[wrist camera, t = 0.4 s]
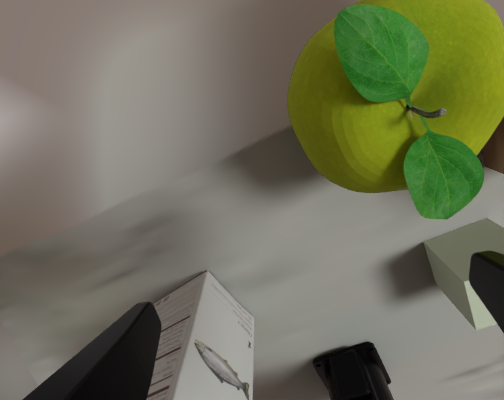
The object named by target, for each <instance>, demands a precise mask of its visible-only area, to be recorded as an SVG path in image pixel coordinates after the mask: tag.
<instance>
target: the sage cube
mask: <svg viewBox="0 0 504 400" xmlns="http://www.w3.org/2000/svg"><path fill="white" fill-rule="evenodd" d="M423 243H424V246H425V249H426V252H427V256H428V259H429V262H430V265H431V269H432V272H433V275H434V278H435V282H436V284H437V286H438V287H439V288H440V289H441V290H442V291H443V293H444V294H445V295H446V296H447V297H448V298H449V299H450V301H451V302H452V303H453V304H454V305H455V306H456V308H457V309H458V310H459V311H460V312H461V313H462V314H463V316H464V317H465V318H466V319H467V320H468V321H469V323H470V324H471V325H472V326H473V327H474V328H475V329H476V330H479V329H482V328H486V327H489V326H492V325H496V324H497V323H496V321H495V320H494V318H493V317H492V315H491V314H490V313H489V311H488V310H487V308H486V307H485V305H484V304H483V303H482V301H481V300H480V298H479V297H478V295H477V294H476V293H475V291H474V290H473V288H472V287H471V285H470V282H469V269H470V260H471V256H472V254H473V253H476V252H482V251H494V252H498V253H501V254H504V228H503V227H501V226H499V225H498V224H496V223H494V222H493V221H491V220H489V219H488V218H485V219H483V220H480V221H477V222H475V223H472V224H469V225H467V226H464V227H461V228H459V229H456V230H453V231H451V232H448V233H445V234H442V235H440V236H437V237H434V238H432V239H429V240H426V241H424V242H423Z"/></svg>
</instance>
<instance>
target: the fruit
mask: <svg viewBox="0 0 504 400" xmlns="http://www.w3.org/2000/svg"><path fill="white" fill-rule="evenodd" d="M288 113H289V118H290V122H291V124H292V127H293V130H294V132H295V134H296V136H297V138H298V140H299V142H300V144H301V146H302V148H303V150H304V151H305V153H306V155H307V156H308V158H309V160H310V161H311V163H312V164H313V166H314V167H315V168H316V169H317V170H318V171H319V172H320V173H321V174H322V175H323V176H324V177H326V178H327V179H328V180H330V181H331V182H333V183H335V184H337V185H339V186H341V187H343V188H346V189H348V190H352V191H356V192H364V193H380V192H389V191H397V190H406V189H409V191H410V194H411V197H412V199H413V202H414V204H415V206H416V208H417V210H418V212H419V213H420V215H421V216H423V217H425V218H430V219H448V218H450V217H451V216H453V215H454V214H456V213H457V212H458V211H460V210H461V209H462V208H464V207H465V206H466V205H467V204H468V203H469V202H470V201H471V200H472V199H473V198H474V197H475V196H476V195H477V194H478V192H479V191H480V189H481V187H482V184H483V180H484V170H483V167H482V164H481V162H480V160H479V159H478V157H477V155H478V153H479V152H480V151H481V149H482V148H483V147H484V145H485V144H486V142H487V141H488V140H489V138H490V137H491V135H492V134H493V132H494V131H495V129H496V128H497V126H498V125H499V123H500V122H501V120H502V118H503V117H504V29H503V26H502V22H501V20H500V18H499V16H498V15H497V13H496V11H495V10H494V9H493V8H492V7H491V6H490V5H489V4H488V3H486V2H485V1H483V0H359V1H358V2H357V3H355V4H354V5H353V6H349V7H347V8H345V9H344V10H342V11H341V12H339V13H338V16H337V17H336V18H334V19H333V20H331V21H330V22H328V23H327V24H326V25H325V26H323V27H322V28H321V29H320V30H319V31H318V32H317V33H315V34H314V35H313V36H312V38H311V39H310V40H309V41H308V43H307V44H306V45H305V47H304V49H303V50H302V52H301V54H300V55H299V57H298V60H297V62H296V64H295V66H294V70H293V73H292V75H291V80H290V84H289V90H288Z"/></svg>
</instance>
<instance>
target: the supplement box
mask: <svg viewBox="0 0 504 400" xmlns="http://www.w3.org/2000/svg"><path fill="white" fill-rule="evenodd" d="M153 305H154V307H155V309H156V311H157V314H158V316H159V318H160V320H161V324H162V329H161V335H160V340H159V345H158V351H157V356H156V361H155V366H154V371H153V376H152V381H151V385H150V388H149V392H148V396H147V399H146V400H253V362H254V318H253V317H252V316H251V315H250V314H249V313H248V312H247V311H246V310H245V309H244V308H243V307H242V306H241V305H240V304H239V303H238V302H237V301H236V300H235V299H234V298H233V297H232V296H231V295H230V294H229V293H228V292H227V291H226V290H225V289H224V288H223V287H222V286H221V285H220V284H219V282H218V281H217V280H216V279H215V278H214V277H213V276H212V275H211V274H210V272H209V271H206V272H204V273H203V274H201V275H199V276H198V277H196V278H194V279H193V280H191V281H189V282H188V283H186V284H185V285H183V286H181V287H180V288H178V289H176V290H175V291H173V292H172V293H170V294H168V295H167V296H165V297H163V298H162V299H160V300H159V301H157V302H156V303H154V304H153Z"/></svg>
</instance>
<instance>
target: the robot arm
mask: <svg viewBox="0 0 504 400" xmlns="http://www.w3.org/2000/svg"><path fill="white" fill-rule="evenodd" d="M469 282H470V285H471V287H472V288H473V290H474V291H475V293H476V294H477V295H478V297H479V298H480V300H481V301H482V303H483V304H484V305H485V307H486V308H487V310H488V311H489V313H490V314H491V315H492V317H493V318H494V320H495V321H496V323H497V324H498V325H499V327H500V328H501V330H502V331H503V333H504V254H501V253H498V252H494V251H482V252H476V253H473V254H472V256H471V260H470V269H469ZM161 329H162V324H161V320H160V318H159V316H158V314H157V311H156V309H155V307H154V305H153V303H151V302H143V303H138V304H136V305H135V306H133V307H132V308H131V309H130V310H129V311H128V312H126V313H125V314H124V315H123V316H122V317H120V318H119V319H118V320H117V321H116V322H114V323H113V324H112V325H111V326H110V327H108V328H107V329H106V330H105V331H104V332H103V333H101V334H100V335H99V336H98V337H97V338H95V339H94V340H93V341H92V342H91V343H89V344H88V345H87V346H86V347H85V348H83V349H82V350H81V351H80V352H79V353H77V354H76V355H75V356H74V357H73V358H72V359H70V360H69V361H68V362H67V363H66V364H64V365H63V366H62V367H61V368H60V369H58V370H57V371H56V372H55V373H54V374H52V375H51V376H50V377H49V378H48V379H47V380H45V381H44V382H43V383H42V384H41V385H39V386H38V387H37V388H36V389H35V390H34V391H32V392H31V393H30V394H29V395H27V396H26V397H25V398H24V399H23V400H146V399H147V396H148V392H149V388H150V385H151V381H152V376H153V371H154V366H155V361H156V356H157V351H158V345H159V340H160V335H161ZM313 365H314V368H315V369H316V371H317V373H318V374H319V376H320V377H321V379H322V381H323V382H324V384H325V385H326V387H327V389H328V390H329V395H330V399H331V400H394V399H393V397H392V394H391V392H390V390H389V387H388V384H390V383H391V380H390V378H389V376H388V373H387V371H386V369H385V367H384V365H383V363H382V361H381V359H380V356H379V354H378V352H377V350H376V348H375V346H374V344H373V343H366V344H363V345H359V346H356V347H353V348H350V349H347V350H343V351H340V352H337V353H334V354H331V355H327V356H324V357H321V358H318V359H315V360H314V361H313Z"/></svg>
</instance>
